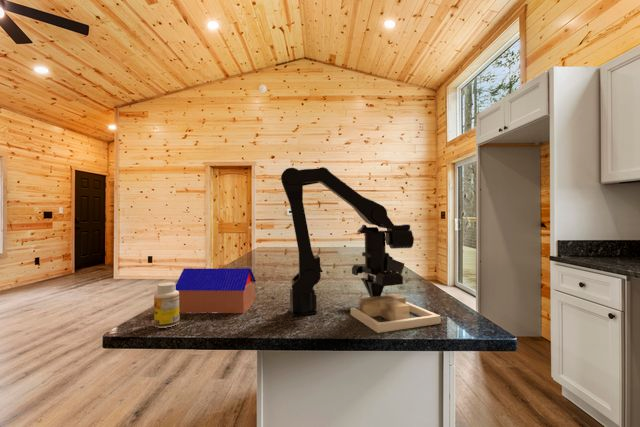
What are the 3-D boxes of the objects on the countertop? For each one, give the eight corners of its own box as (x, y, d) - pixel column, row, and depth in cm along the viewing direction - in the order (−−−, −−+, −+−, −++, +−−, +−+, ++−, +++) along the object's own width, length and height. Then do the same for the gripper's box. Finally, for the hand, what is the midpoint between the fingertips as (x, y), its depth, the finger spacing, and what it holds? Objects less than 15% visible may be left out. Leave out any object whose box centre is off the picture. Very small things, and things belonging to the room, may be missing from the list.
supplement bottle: (155, 323, 80) (154, 282, 80) (179, 320, 82) (179, 280, 82) (153, 331, 75) (152, 287, 75) (179, 327, 77) (178, 284, 77)
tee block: (359, 313, 86) (359, 298, 86) (397, 308, 91) (397, 294, 91) (381, 326, 76) (381, 309, 76) (422, 319, 80) (422, 303, 80)
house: (244, 315, 87) (244, 272, 87) (173, 314, 88) (173, 272, 88) (256, 303, 99) (255, 265, 99) (193, 302, 100) (193, 265, 100)
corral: (377, 332, 72) (377, 324, 72) (350, 314, 85) (350, 308, 85) (440, 323, 78) (440, 315, 78) (406, 307, 91) (406, 301, 91)
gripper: (420, 251, 84) (420, 310, 84) (382, 244, 102) (383, 294, 102) (383, 253, 80) (384, 315, 80) (350, 246, 98) (351, 297, 98)
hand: (375, 304), depth 90 cm, fingers closed
